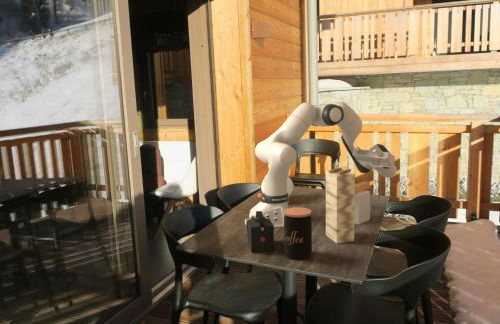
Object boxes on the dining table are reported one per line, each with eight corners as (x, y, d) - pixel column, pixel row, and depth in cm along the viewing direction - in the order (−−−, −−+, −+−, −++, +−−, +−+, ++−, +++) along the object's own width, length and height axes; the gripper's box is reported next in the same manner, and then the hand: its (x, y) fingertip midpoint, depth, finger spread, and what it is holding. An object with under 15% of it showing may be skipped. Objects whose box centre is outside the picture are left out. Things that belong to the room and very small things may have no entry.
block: (346, 196, 210) (346, 190, 209) (340, 195, 212) (340, 189, 211) (369, 188, 223) (369, 182, 223) (364, 187, 225) (364, 181, 225)
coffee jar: (278, 255, 179) (278, 211, 176) (296, 248, 186) (295, 205, 183) (300, 262, 171) (299, 216, 168) (317, 254, 179) (317, 210, 175)
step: (358, 224, 213) (358, 195, 210) (340, 220, 220) (340, 192, 217) (369, 219, 220) (370, 191, 217) (351, 215, 227) (352, 188, 224)
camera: (271, 239, 197) (270, 206, 194) (277, 251, 184) (276, 215, 181) (246, 241, 196) (245, 207, 193) (250, 253, 182) (249, 217, 179)
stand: (334, 243, 190) (334, 173, 184) (323, 235, 200) (323, 168, 195) (356, 240, 192) (357, 171, 187) (344, 232, 203) (345, 166, 197)
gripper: (361, 152, 237) (349, 141, 228) (398, 157, 223) (386, 145, 213) (358, 163, 236) (345, 153, 226) (394, 169, 221) (382, 157, 212)
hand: (365, 149), depth 220 cm, fingers open, 8 cm apart
